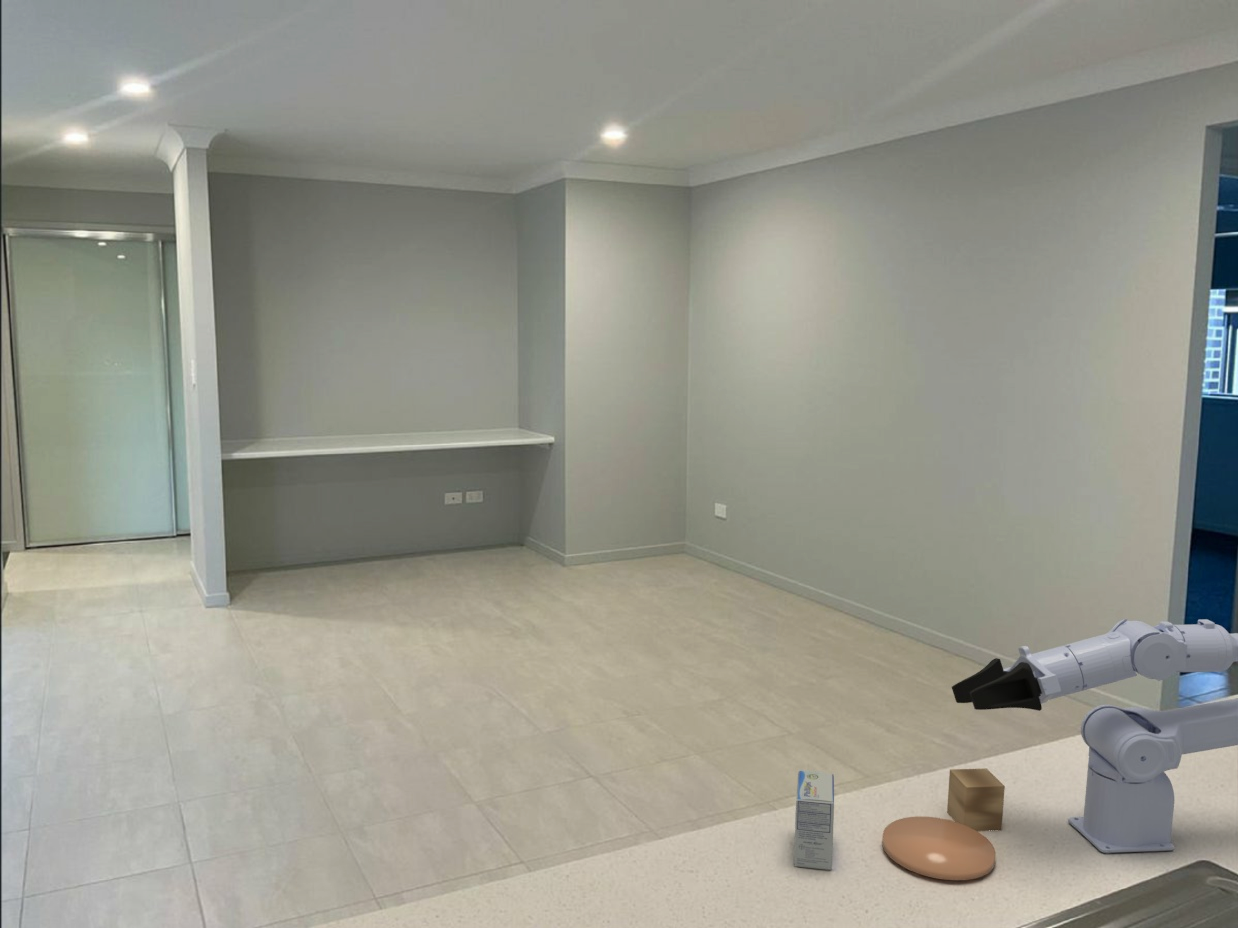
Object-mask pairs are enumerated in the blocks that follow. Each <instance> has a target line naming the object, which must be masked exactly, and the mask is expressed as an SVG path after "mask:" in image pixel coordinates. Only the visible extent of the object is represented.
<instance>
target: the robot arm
mask: <svg viewBox="0 0 1238 928" xmlns="http://www.w3.org/2000/svg"><path fill="white" fill-rule="evenodd" d="M1215 623H1216V622H1214V621H1212V620H1209V619H1207V618H1206V619H1198V620H1197V623H1196V624H1193V623H1191V624H1173V623H1172V622H1170V621H1167V620H1166V621H1165V620H1164V621H1159V624H1157V625H1154V626H1152V625H1150V624H1148V623H1146V622H1145V621H1140V620H1128V619H1127V618H1124V619H1122V620H1119V621H1118V622H1116V624H1114V625H1113V626H1112V628H1111V629H1110V630H1109V631H1108V632H1107V633H1104V634H1100V635H1096V636H1093V637H1089V638H1085V639H1081V640H1078V641H1075V642H1070V643H1067V644H1063V645H1060V646H1056V647H1052V648H1049V649H1045V650H1042V651H1038V652H1034V653H1031V650H1030V648H1029V646H1027V645H1021V646H1019V647H1018V652H1019V657H1018V658H1017V660H1015V662H1014V664H1013V665H1012V666H1009V667H1005V668H1004V667H1003V665H1002V660H1001V658H998V657H995V658H993V659H992V660H990V661H989V662H988V663H987V664H986V666H984V667H983V668H982V669H981V670H979V671H978V672H977V673H975V674H973V675H971V676H969V677H967V678H964V679H963V680H961V681H959V682H957V683H955V684H953V685H952V686H951V689H952V693H953V697H954V699H955V702H956V703H957V704H969V703H972V705H973V708H974V710H978V711H979V710H980V711H981V710H982V711H983V710H984V711H985V710H987V711H988V710H996V709H997V710H998V709H1012V708H1013V709H1014V708H1015V709H1028V710H1035V711H1039V712H1040V711H1042V709H1043V706H1042V704H1046V703H1047V702H1048V701H1050V700H1055V699H1057V698H1058V699H1059V698H1062V697H1064V696H1068V695H1071V694H1076V693H1080V692H1082V691H1087V690H1090V689H1094V688H1098V687H1102V686H1105V685H1109V684H1113V683H1116V682H1119V681H1120V682H1121V681H1123V680H1127V679H1130V678H1134V677H1137V676H1138V675H1140V676H1141V677H1144V678H1147V679H1151V680H1156V681H1159V682H1161V681H1163V680H1166V679H1168V678H1170V677H1171V676H1173V674H1175V673H1207V672H1208V673H1212V672H1213V673H1214V672H1215V673H1216V672H1217V673H1218V672H1219V673H1220V672H1225V671H1227V670H1228V669H1230V668H1231V666H1232V665H1233V663H1235V662H1238V632H1235V633H1229V631H1228V630H1226V628H1225V627H1223V626H1222V625H1219V624H1215ZM1080 734H1081V738H1082V741H1083V742H1084V743H1085V744H1086V745H1087V746H1088V762H1087V763H1088V764H1087V775H1086V785H1085V797H1084V807H1083V808H1084V809H1083V816H1075V817H1074V816H1071V817H1068V819H1067V821H1068V823H1069V824H1070V825H1072V827H1074V828H1075V829H1076V831H1078V832H1079V833H1080V834H1081V835H1082V836H1084V837H1085V839H1087V840H1088V842H1090V843H1091V844H1092V845H1093V846H1094V847H1095V848H1096V849H1097V850H1098V851H1100V852H1101V853H1104V854H1108V853H1109V854H1110V853H1133V852H1138V853H1139V852H1160V851H1161V852H1162V851H1174V850H1175V846H1174V844H1173V843H1171V837H1172V829H1173V819H1174V811H1175V810H1174V808H1175V792H1174V786H1173V784H1172V781H1171V780H1170V778H1169V776H1168V775H1167V774H1166V772H1167V771H1170V770H1176V769H1178V768H1179V767H1180V763H1181V759H1182V755H1187V754H1193V753H1199V752H1205V751H1210V750H1211V751H1212V750H1216V749H1222V748H1223V749H1224V748H1228V747H1235V746H1238V697H1237V698H1232V699H1227V700H1226V699H1225V700H1220V701H1214V702H1213V701H1212V702H1208V703H1203V704H1202V703H1201V704H1196V705H1190V706H1184V707H1178V708H1173V709H1168V710H1167V709H1166V710H1162V711H1161V710H1157V709H1156V710H1155V709H1151V708H1150V709H1149V708H1145V707H1139V706H1131V707H1120V706H1116V705H1113V704H1101V705H1098V706H1095V707H1093V708H1092V709H1090V710H1089V711H1088V712H1087V713H1086V714H1085V716H1084V717H1083V718H1082V721H1081V724H1080Z"/></svg>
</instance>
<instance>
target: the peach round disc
mask: <svg viewBox="0 0 1238 928" xmlns="http://www.w3.org/2000/svg"><path fill="white" fill-rule="evenodd" d="M881 843H882V847H883V850H884V851H885V853H886V854H887V856H888V857H889V858H890V859H891V860H893V861H894V862H895V863H896V864H898V865H900V866H901V867H903V868H905V869H906V870H909V871H911V872H914V873H916V874H918V875H922V876H925V877H929V878H933V879H937V880H938V879H939V880H945V881H969V880H974V879H978V878H982V877H983V876H986V875H987V874H989V873H990V872H991V871H992V870H993V868H994V867H995V865H996V856H997V855H996V854H997V852H996V848H995V847H994V845H993V844H992V842H991V841H990V840H989V839H988V838H987V837H986V836H985V835H984V834H982V833H981V832H980V831H976V830H974V829H972V828H970V827H968V826H966V825H963V824H961V823H958V822H955V821H954V820H950V819H946V818H941V817H933V816H909V817H908V816H907V817H903V818H899V819H896V820H894V821H892V822H891V823H889V824H888V825H886V827H885V828H884V829H883V833H882V841H881Z"/></svg>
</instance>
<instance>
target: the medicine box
mask: <svg viewBox="0 0 1238 928" xmlns="http://www.w3.org/2000/svg"><path fill="white" fill-rule="evenodd" d="M834 780H835V779H834V774H833V773H830V772H824V771H814V770H798V774H797V785H796V800H795V801H796V802H795V815H794V816H795V817H794V818H795V821H794V826H795V827H794V828H795V829H794V866H795V867H799V868H808V869H815V870H816V869H817V870H824V871H825V870H826V871H831V870H833V852H834V851H833V848H834V821H835V819H834V818H835V817H834V816H835V781H834Z"/></svg>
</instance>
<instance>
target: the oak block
mask: <svg viewBox="0 0 1238 928" xmlns="http://www.w3.org/2000/svg"><path fill="white" fill-rule="evenodd" d="M1005 791H1006V790H1005V784H1003V783H1002V782H1001V781H1000V780H999V779H998V778H997V777H996V775H994V774H993V773H992V772H991V771H990V770H989V769H988V768H985V767H984V768H961V769H960V768H957V769H955V768H953V769H951V768H950V769H949V777H948V792H947V793H948V794H947V808H946V813H947V814H948V816H949V817H951V818H952V821H954V822H958V823H961V824H963V825H966V826H968V827H970V828H972V829H974V830H976V831H978V832H992V831H993V830H994V831H995V830H998V831H1002V827H1003V816H1004V815H1003V813H1004V801H1005ZM989 830H990V831H989ZM991 830H992V831H991ZM994 831H993V832H994ZM995 832H996V831H995Z"/></svg>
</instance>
